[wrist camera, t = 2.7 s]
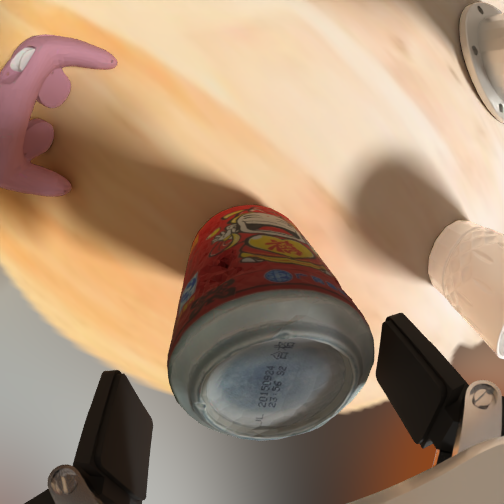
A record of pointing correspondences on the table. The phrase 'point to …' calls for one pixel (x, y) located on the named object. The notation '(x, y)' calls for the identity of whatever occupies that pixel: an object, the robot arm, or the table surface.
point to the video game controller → (22, 103)
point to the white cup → (472, 277)
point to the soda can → (264, 331)
